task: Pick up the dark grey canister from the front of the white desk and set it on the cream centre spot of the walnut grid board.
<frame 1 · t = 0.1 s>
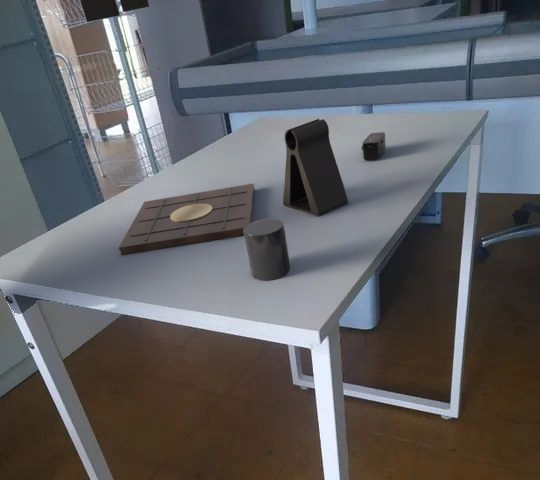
hand: (121, 14, 52), 30 cm above the table, tool pointing down, fingers open, 13 cm apart
grid board: (193, 219, 89), on the table
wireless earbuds: (372, 155, 102), on the table
black triangular stand: (315, 205, 86), on the table
dark grey canister: (271, 271, 69), on the table
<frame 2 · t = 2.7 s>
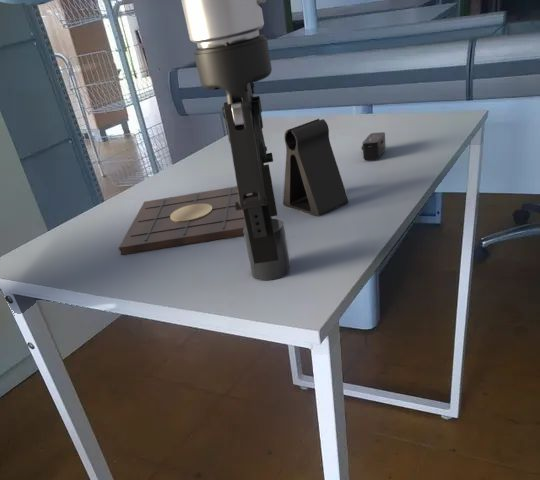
hand: (266, 236, 67), 5 cm above the table, tool pointing down, fingers open, 13 cm apart
nothing on the table moved.
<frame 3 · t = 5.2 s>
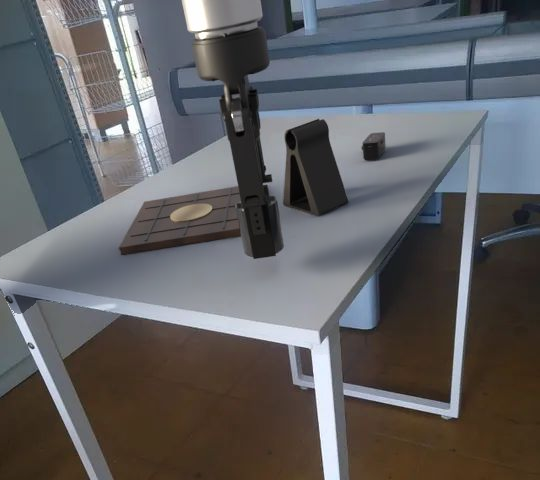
hand: (264, 246, 68), 3 cm above the table, tool pointing down, fingers closed on dark grey canister, 5 cm apart
dark grey canister: (264, 248, 68), point 3 cm above the table, touching gripper
everything else where it was.
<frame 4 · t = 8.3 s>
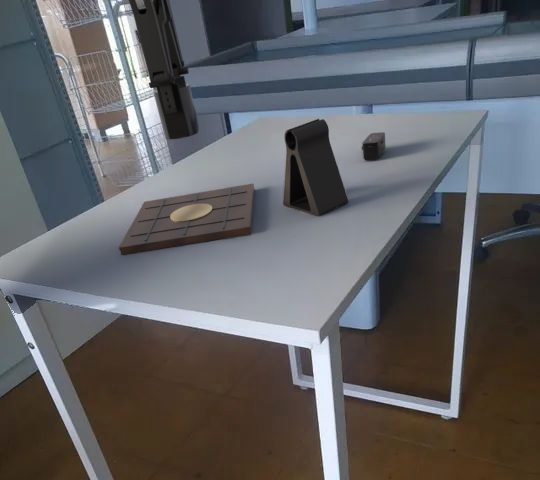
hand: (182, 131, 77), 15 cm above the table, tool pointing down, fingers closed on dark grey canister, 5 cm apart
dark grey canister: (182, 134, 77), point 14 cm above the table, touching gripper
everything else where it was.
when the fingers open (2 cm above the table, at t = 11.9 s): dark grey canister stays where it is, resting on grid board.
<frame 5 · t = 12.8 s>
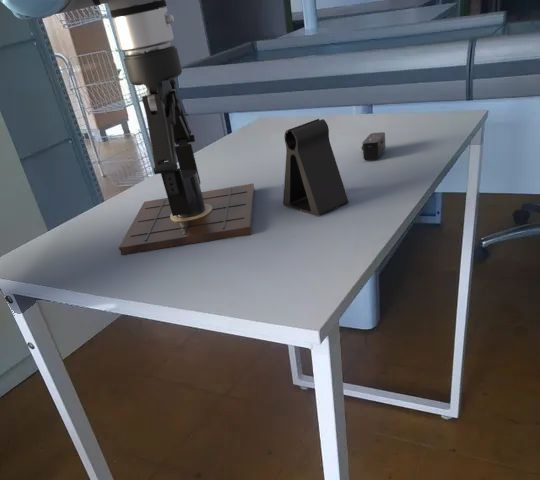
hand: (187, 198, 87), 4 cm above the table, tool pointing down, fingers open, 13 cm apart
dark grey canister: (190, 211, 89), point 1 cm above the table, touching grid board
everything else where it was.
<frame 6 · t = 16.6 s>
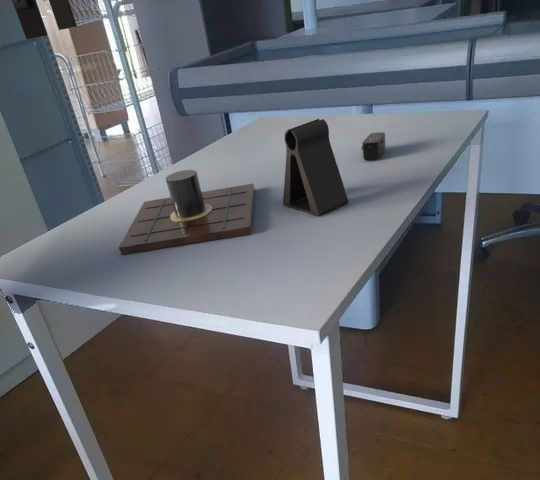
hand: (53, 32, 78), 29 cm above the table, tool pointing down, fingers open, 13 cm apart
nothing on the table moved.
at the end: dark grey canister 0.1 cm off-centre on the grid board, point 1.4 cm above the grid board's base; dark grey canister tilted 0°; the gripper is holding nothing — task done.
